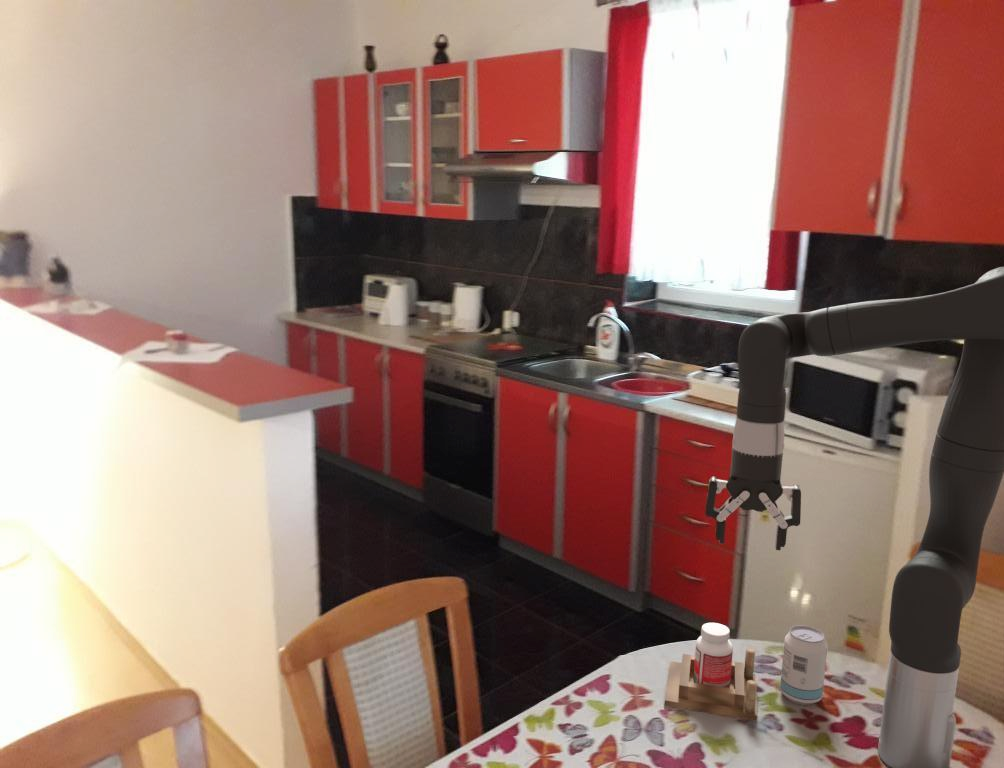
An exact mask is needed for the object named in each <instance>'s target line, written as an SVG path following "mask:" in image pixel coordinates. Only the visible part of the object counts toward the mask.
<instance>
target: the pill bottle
mask: <svg viewBox="0 0 1004 768" xmlns="http://www.w3.org/2000/svg"><path fill="white" fill-rule="evenodd" d="M730 633H731V631H730V628H729V627H728V626H727V625H724V624H721V623H718V622H707V623H703V624H702V626H701V630H700V635H699V636H698V638H697V639H696V642H695V651H694V652H695V653H694V656H695V666H694V683H699V684H706V685H712V686H718V687H724V688H730V680H731V666H732V661H733V653H734V652H733V651H734V646H733V644H732V642H731V641H730Z"/></svg>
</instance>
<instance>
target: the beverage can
mask: <svg viewBox="0 0 1004 768" xmlns="http://www.w3.org/2000/svg"><path fill="white" fill-rule="evenodd" d="M783 643H784V644H783V654H782V664H781V675H780V683H779V690H780V692H781V693H782V694H783V696H785V697H786V698H787V699H788V700H789V701H790V702H792V703H794V704H797V705H800V706H811V705H814V704H816V703H819V702H820V701H821V700H822V699H823V693H824V686H825V685H824V684H825V677H826V669H827V668H826V667H827V665H826V664H827V658H828V647H829V645H828V643H827V641H826V639H825V634H824V633H823V632H822V631H821V630H819V629H818V628H816V627H812V626H809V625H800V624H799V625H794V626H792V627H790V629H789V632H788V633H787V634H786V636H785V637H784V641H783Z"/></svg>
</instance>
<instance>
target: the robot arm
mask: <svg viewBox="0 0 1004 768" xmlns="http://www.w3.org/2000/svg"><path fill="white" fill-rule="evenodd" d="M949 340H963V346H962V347H963V348H962V352H961V358H960V359H959V360H960V361H959V365H958V368H957V371H956V374H955V376H954V379H953V381H952V384H951V387H950V389H949V392H948V395H947V398H946V400H945V404H944V406H943V410H942V413H941V416H940V417H941V418H940V420H939V424H938V426H937V431H936V434H935V436H934V437H935V438H934V442H933V446H932V451H931V454H930V460H929V468H928V469H929V471H928V481H929V482H928V485H929V497H930V499H929V500H930V502H929V503H930V505H929V506H930V508H929V515H928V519H927V524H926V527H925V530H924V533H923V536H922V539H921V541H920V543H919V546H918V548H917V551H916V553H915V554H914V556H913V557H912V558H911V559H910V560H909V561H908V562H907V563H905V564H904V565H903V566H902V567H901V568H900V569H899V571H897V573H896V576H895V578H894V582H893V586H892V592H891V599H890V611H889V625H888V632H889V633H888V634H889V638H890V640H891V643H890V651H889V660H888V666H887V667H888V668H887V673H886V675H887V676H886V683H885V692H884V697H883V699H884V700H883V706H882V707H883V708H882V714H881V722H880V728H879V729H880V730H879V735H878V736H879V737H878V745H877V747H878V748H877V751H878V756H879V757H880V759H881V760H882V761H883V762H884V763H885V765H886V766H888V767H889V768H950V766H951V760H952V754H953V746H954V739H955V733H956V725H957V718H956V716H955V714H954V712H953V711H954V704H955V698H956V691H957V684H958V678H959V670H960V664H961V657H962V656H961V655H962V649H961V648H962V647H961V646H960V644H959V642H958V641H959V634H960V633H959V632H960V627H961V625H960V624H961V619H962V611H963V609H964V608H965V607H966V606H967V605H968V603H969V602H970V600H971V599H972V597H973V595H974V592H975V589H976V585H977V575H978V569H979V568H978V567H979V559H980V553H981V546H982V540H983V534H984V530H985V526H986V524H987V522H988V519H989V516H990V514H991V512H992V508H993V506H994V503H995V501H996V497H997V495H998V492H999V489H1000V486H1001V483H1002V479H1003V476H1004V266H999V267H996V268H994V269H991V270H989V271H987V272H985V273H984V274H983V275H982V276H981V277H979V278H978V279H977V281H975V282H974V283H973V284H969V285H966V286H963V287H959V288H956V289H953V290H949V291H945V292H944V291H943V292H940V293H935V294H929V295H923V296H916V297H907V298H906V297H905V298H904V297H903V298H892V299H880V300H879V299H878V300H877V299H876V300H867V301H860V302H859V301H858V302H854V303H853V302H852V303H846V304H842V305H841V304H840V305H836V306H835V305H834V306H830V307H825V308H820V309H816V310H812V311H808V312H806V311H805V312H804V311H803V312H795V313H782V314H776V315H770V316H764V317H761V318H758V319H757V320H755V321H753V322H752V323H750V324H749V325H747V326H746V327H745V328H744V330H743V331H742V332H741V335H740V337H739V341H738V349H737V366H738V367H737V368H738V380H739V381H738V382H739V384H738V385H739V389H738V395H737V403H736V404H737V406H736V417H735V423H734V427H733V433H732V435H733V436H732V437H733V438H732V441H731V442H732V447H731V460H730V461H731V462H730V472H729V474H730V475H729V478H728V479H727V480H725V479H719V478H717V477H716V476H711V477H710V478H709V480H708V481H709V482H708V488H707V489H708V490H707V494H706V502H705V513H704V514H705V516H706V517H707V518H713V519H714V520H715V521H716V522H715V523H716V524H715V525H716V526H715V539H716V540H717V541H719V545H725V535H726V523H727V522H726V519H727V518H728V517H729V516H730V515H731V514H733V513H734V512H735V511H736V510H737V509H738V508H740V509H741V510H742V511H752V510H753V511H755V512H759V513H760V512H761V513H764V511H768V512H769V514H770V515H771V517H772V518H773V519H774V521H776V523H777V524H776V532H775V541H774V542H775V543H774V544H775V547H774V548H775V551H781V549H782V548H785V546H786V544H787V543H786V542H787V533H788V529H789V527H793V526H794V527H797V526H800V525H801V514H802V513H801V512H802V510H801V508H802V492H801V487H800V485H799V484H797V483H795V484H793V485H792V486H786V485H785V486H784V485H782V483H781V479H782V478H781V476H782V467H783V466H782V465H783V456H784V449H785V413H786V412H785V411H786V403H787V390H786V387H785V385H784V382H785V381H784V380H785V372H786V370H785V369H786V363H787V359H794V358H800V357H805V356H806V357H807V356H813V355H815V356H817V357H832V356H838V355H839V356H840V355H845V354H853V353H860V352H864V351H865V352H866V351H871V350H878V349H883V348H890V347H895V346H902V345H910V344H913V343H914V344H915V343H925V342H935V341H949ZM724 489H726V490H727V492H728V494H729V495H730V497H728V499H727V500H726V501H725V502H724V504H722V506H720V508H717V507H715V503H716V495H717V494H721V493H722V490H724ZM783 494H784V495H785V496H786V499H787V500H788V501H790V503H791V504H790V506H791V507H790V515H786V516H785V514H784V512H783V511H782V510H781V509H780V506H779V505H778V503H777V502H776V501H778V500H779V498H780V497H782V496H783Z"/></svg>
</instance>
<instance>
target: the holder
mask: <svg viewBox="0 0 1004 768" xmlns="http://www.w3.org/2000/svg"><path fill="white" fill-rule="evenodd" d="M755 659H756V650H755V649H753V648H746V649H745V657H744V662H739V661H734V660H732V666H731V680H730V688H724V687H718V686H712V685H706V684H699V683H694V666H695V654H694V655H693V654H686V653H682V656H681V662H680V661H679V662H678V661H674V660H673V661H672V660H670V661H669V667H668V674H667V681H666V687H665V688H666V689H665V696H664V702H663V703H664V706H665V707H669V708H670V707H671V708H675V709H676V708H677V709H683V710H689V711H695V712H701V713H708V714H713V715H718V716H724V717H731V718H737V719H742V720H749V721H755V722H758V703H757V702H758V701H757V700H758V699H757V689H758V682H757V681H756V674H755V672H754V671H755Z"/></svg>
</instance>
